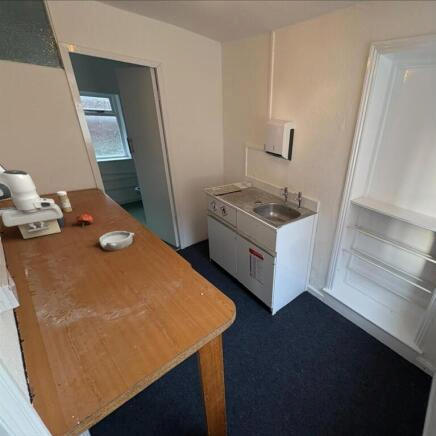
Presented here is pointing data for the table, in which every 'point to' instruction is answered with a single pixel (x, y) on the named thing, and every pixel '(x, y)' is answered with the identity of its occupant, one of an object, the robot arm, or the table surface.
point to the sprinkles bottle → (64, 201)
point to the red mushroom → (84, 219)
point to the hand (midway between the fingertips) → (39, 229)
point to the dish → (116, 240)
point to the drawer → (47, 228)
